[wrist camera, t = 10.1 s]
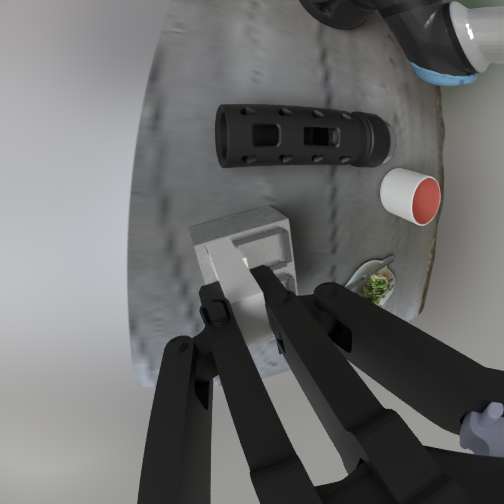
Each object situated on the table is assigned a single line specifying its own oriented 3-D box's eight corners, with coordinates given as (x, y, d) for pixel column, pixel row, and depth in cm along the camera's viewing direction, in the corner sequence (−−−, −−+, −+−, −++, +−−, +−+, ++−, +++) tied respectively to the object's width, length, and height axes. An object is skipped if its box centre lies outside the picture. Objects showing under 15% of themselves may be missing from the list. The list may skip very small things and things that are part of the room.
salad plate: (373, 235, 58) (386, 243, 54) (403, 271, 66) (414, 279, 62) (319, 304, 61) (329, 315, 56) (357, 328, 69) (367, 338, 65)
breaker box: (269, 205, 48) (291, 220, 40) (281, 283, 55) (301, 308, 47) (188, 227, 45) (194, 248, 37) (212, 306, 52) (222, 336, 44)
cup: (372, 206, 54) (405, 221, 46) (383, 161, 51) (419, 169, 42) (400, 214, 58) (432, 229, 49) (411, 173, 55) (445, 183, 46)
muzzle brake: (212, 106, 38) (227, 98, 29) (361, 115, 46) (399, 116, 37) (214, 166, 42) (229, 174, 33) (360, 163, 50) (397, 172, 41)
